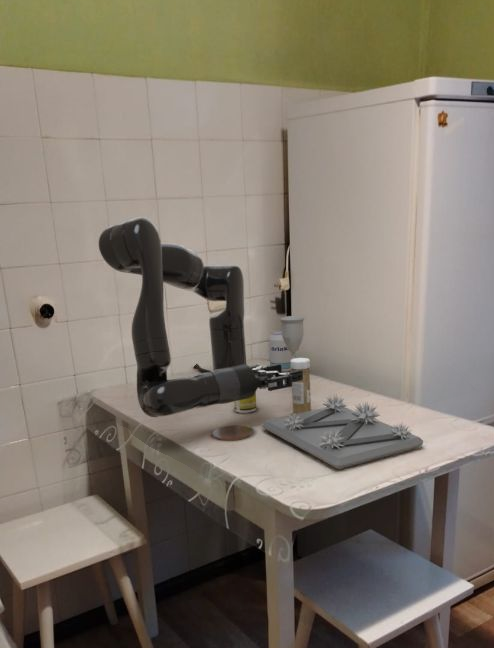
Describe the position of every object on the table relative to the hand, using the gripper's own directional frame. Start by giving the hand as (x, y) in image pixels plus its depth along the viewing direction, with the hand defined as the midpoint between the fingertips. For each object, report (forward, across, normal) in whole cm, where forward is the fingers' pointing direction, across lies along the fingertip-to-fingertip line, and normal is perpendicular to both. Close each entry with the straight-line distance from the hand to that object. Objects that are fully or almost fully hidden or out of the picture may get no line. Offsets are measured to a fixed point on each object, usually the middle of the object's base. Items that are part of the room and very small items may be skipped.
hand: (291, 371), depth 147 cm
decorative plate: (-2, -19, +11) cm, 22 cm away
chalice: (+19, +26, +11) cm, 35 cm away
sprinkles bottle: (+3, 0, +11) cm, 11 cm away
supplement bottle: (-5, +12, +11) cm, 18 cm away
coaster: (-17, -1, +11) cm, 20 cm away
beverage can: (+24, +39, +11) cm, 47 cm away
